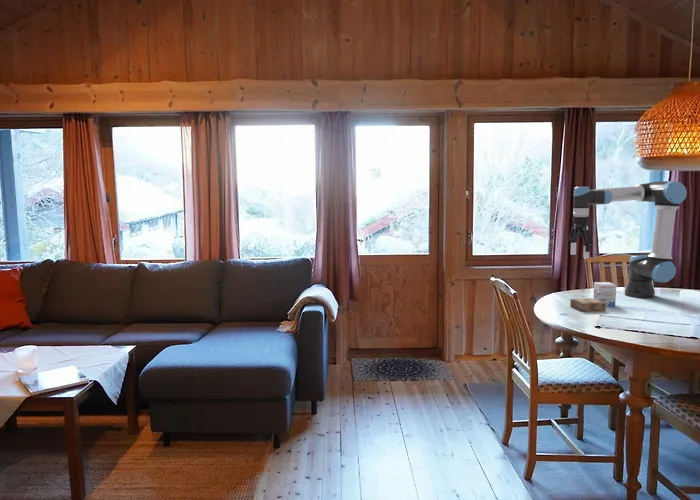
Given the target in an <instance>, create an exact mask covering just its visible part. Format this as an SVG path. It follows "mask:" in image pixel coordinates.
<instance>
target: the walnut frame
mask: <svg viewBox="0 0 700 500" xmlns="http://www.w3.org/2000/svg"><path fill="white" fill-rule="evenodd" d="M569 306H570V307H571V308H573V309H575V310H577V311H579V312H582V313H583V312H584V313H585V312H590V313H591V312H606V308H607V307H606V303H604V302H601V301H599V300H596V299H593V297H589V298H588V297H586V298H583V297H581V298H570V305H569Z"/></svg>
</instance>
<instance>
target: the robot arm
mask: <svg viewBox="0 0 700 500" xmlns="http://www.w3.org/2000/svg"><path fill="white" fill-rule="evenodd" d="M687 193H688V192H687V189H686V186H685V185H684V184H683V183H682V182H680V181H677V180H676V181H675V180H665V181H658V180H657V181H652V182H646V183H641V184H640V183H639V184H636V185H634V186H625V187H624V186H623V187H610V188H597V189H590V187H589V186H576V187H574V188H573V210H572V212H573V213H572V215H573V216H572V225H571V230H570V234H569V237H568V241H569V242H570V255H571V256H573V255H575V256H576V255H577V240H578V237H579V236H581V239H582V242H583V253H582V256H583V259H589V258H590V246H591V245H593V240H592V235H591V232H590V230H591V229H590V225H587V224H589V215H590V206H591V205H595V206H597V205H609V204H610V203H613V202H626V201H636V202H637V203H638V202H639V203H640V202H646V203H647V202H649V203H654V204H653V205H654V207H655V208H656V215H655V223H654V233H653V238H652V244H651V245H652V246H651V253H649V254H647V255H631V256H630V257H629V262H628V263H629V267H628V269H629V270H628V283H627V285H626V287H625V290H624V295H625V296H628V297H632V298H640V299H642V298H643V299H645V298H646V299H652V298H655V297H656V292H655V287H654V285H653V282H656V283H668V282H670V281H671V280H672V279H674V277H675V275H676V273H677V268H676V266H675V264H674V263H673V257H672V256H671V249H672V248H671V247H672V241H673V240H672V239H673V233H674V228H675V227H674V225H675V219H676V211H677V210H678V209H679V208H680V206H681V203H683V202H684V201H685V200H686V198H687Z"/></svg>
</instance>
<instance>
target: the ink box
mask: <svg viewBox="0 0 700 500" xmlns="http://www.w3.org/2000/svg"><path fill="white" fill-rule="evenodd" d="M592 296H593V297H592V298H593V299H596V300H599V301H601V302H604V303H606V307H605V308H608V307H609V308H610V307H613V308H614V307H616V300H617V299H616V298H617V285H616V284H614V283H612V282H610V281H609V282H608V281H601V282H599V281H597V282H596V281H594V282H593V295H592Z"/></svg>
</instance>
